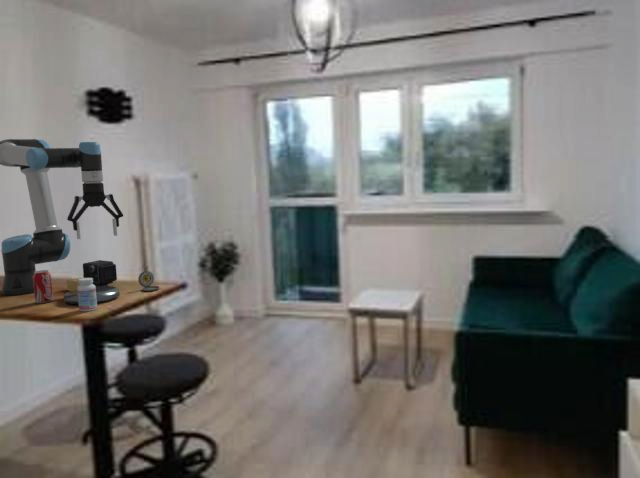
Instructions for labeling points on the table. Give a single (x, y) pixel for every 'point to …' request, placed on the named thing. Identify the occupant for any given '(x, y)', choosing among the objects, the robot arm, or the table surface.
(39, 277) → the beverage can
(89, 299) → the pill bottle
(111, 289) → the turntable
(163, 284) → the table surface
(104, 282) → the camera
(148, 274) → the pocket watch
